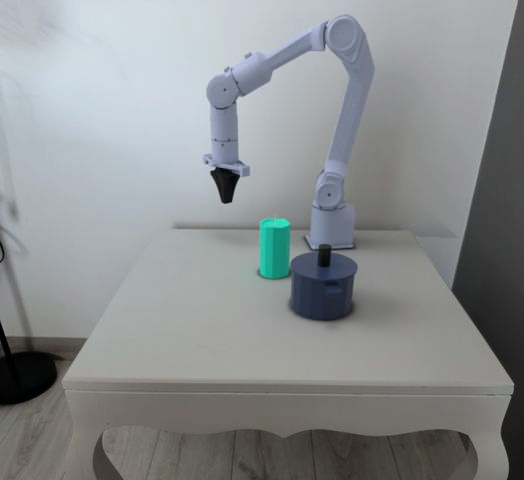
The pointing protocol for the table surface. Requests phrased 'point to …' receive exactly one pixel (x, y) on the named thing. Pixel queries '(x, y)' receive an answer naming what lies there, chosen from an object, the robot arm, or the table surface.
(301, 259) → the pot lid
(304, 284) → the pot
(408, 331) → the table surface
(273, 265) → the candle
